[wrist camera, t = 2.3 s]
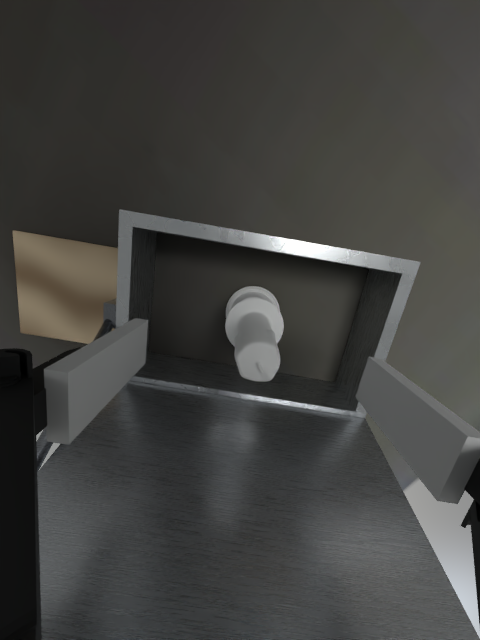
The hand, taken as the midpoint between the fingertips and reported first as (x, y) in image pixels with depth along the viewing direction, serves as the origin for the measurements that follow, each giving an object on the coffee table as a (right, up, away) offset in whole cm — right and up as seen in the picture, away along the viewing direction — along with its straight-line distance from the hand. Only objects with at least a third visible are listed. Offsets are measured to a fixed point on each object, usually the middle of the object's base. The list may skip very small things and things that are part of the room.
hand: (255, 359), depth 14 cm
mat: (-18, +5, +10) cm, 21 cm away
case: (0, +2, +10) cm, 10 cm away
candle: (0, +3, +10) cm, 11 cm away
